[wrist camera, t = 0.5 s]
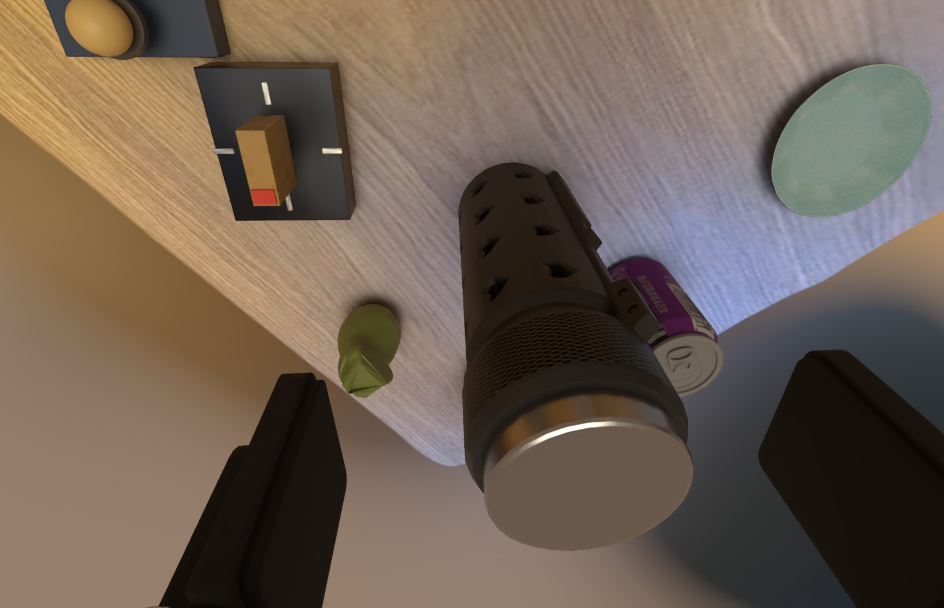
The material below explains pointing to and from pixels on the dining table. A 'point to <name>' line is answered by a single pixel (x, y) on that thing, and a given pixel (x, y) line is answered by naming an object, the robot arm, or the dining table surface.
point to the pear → (367, 349)
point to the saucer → (851, 140)
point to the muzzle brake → (561, 374)
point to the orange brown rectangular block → (267, 159)
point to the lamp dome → (108, 27)
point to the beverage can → (675, 327)
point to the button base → (162, 28)
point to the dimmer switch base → (308, 126)
